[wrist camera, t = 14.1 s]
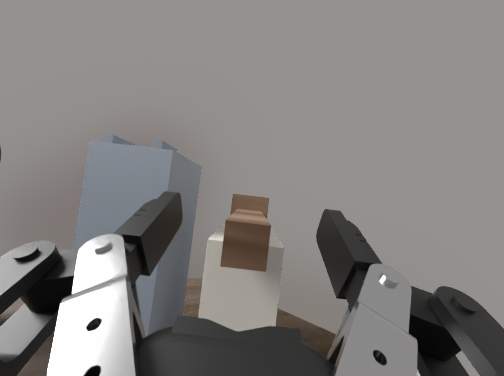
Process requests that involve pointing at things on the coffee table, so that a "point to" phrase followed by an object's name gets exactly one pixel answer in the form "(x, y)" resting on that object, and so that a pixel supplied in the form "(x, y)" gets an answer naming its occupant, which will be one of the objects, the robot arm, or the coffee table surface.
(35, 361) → the coffee table surface
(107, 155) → the tower
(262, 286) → the tall white block
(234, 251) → the peg
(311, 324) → the coffee table surface
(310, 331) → the coffee table surface
